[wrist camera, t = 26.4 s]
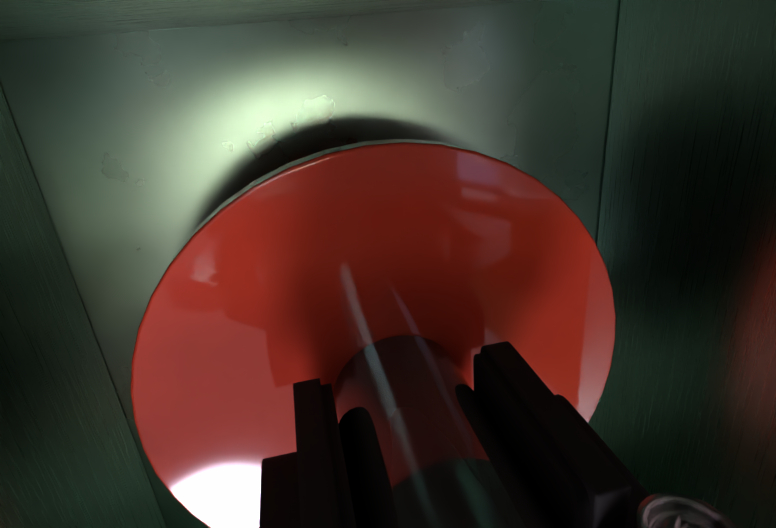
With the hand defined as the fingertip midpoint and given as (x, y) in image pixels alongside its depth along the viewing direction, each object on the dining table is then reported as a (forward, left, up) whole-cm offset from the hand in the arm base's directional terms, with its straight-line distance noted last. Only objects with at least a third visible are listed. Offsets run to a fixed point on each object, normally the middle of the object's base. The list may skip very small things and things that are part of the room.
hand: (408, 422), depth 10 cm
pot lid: (0, 0, -2) cm, 2 cm away
